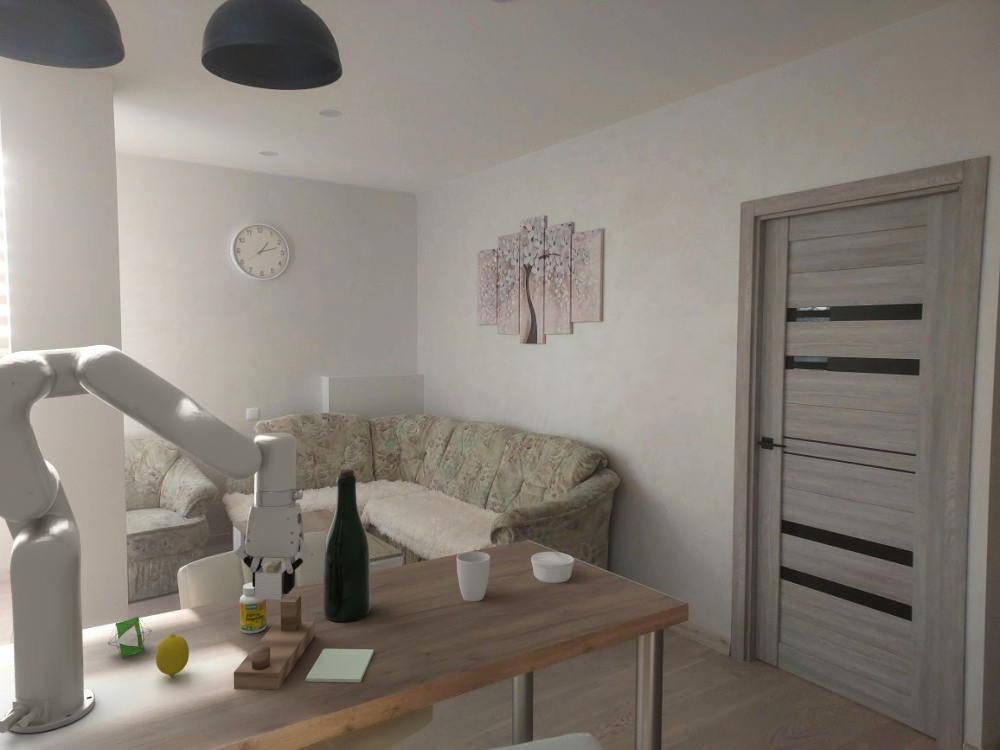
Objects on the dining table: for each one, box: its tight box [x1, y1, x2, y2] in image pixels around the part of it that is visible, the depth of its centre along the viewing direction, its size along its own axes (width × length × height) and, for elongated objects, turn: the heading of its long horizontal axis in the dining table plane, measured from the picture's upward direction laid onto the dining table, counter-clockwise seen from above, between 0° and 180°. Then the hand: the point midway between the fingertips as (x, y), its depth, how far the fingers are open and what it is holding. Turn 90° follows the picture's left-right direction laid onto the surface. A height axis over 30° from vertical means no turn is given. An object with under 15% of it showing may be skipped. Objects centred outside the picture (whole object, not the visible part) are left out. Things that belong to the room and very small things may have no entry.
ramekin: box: [530, 551, 575, 584], centre depth 182 cm, size 11×11×5 cm
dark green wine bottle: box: [322, 468, 371, 622], centre depth 156 cm, size 10×10×33 cm
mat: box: [305, 648, 375, 683], centre depth 132 cm, size 12×10×1 cm
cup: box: [456, 551, 491, 602], centre depth 167 cm, size 8×8×10 cm
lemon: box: [155, 633, 190, 678], centre depth 128 cm, size 6×6×8 cm
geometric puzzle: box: [107, 616, 152, 659], centre depth 137 cm, size 7×7×8 cm
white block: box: [255, 559, 287, 601], centre depth 133 cm, size 6×5×6 cm
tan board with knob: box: [233, 594, 315, 690], centre depth 134 cm, size 22×8×9 cm, turn 179°
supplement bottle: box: [239, 582, 268, 635], centre depth 148 cm, size 5×5×10 cm
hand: (273, 590), depth 133 cm, fingers closed on white block, 5 cm apart
